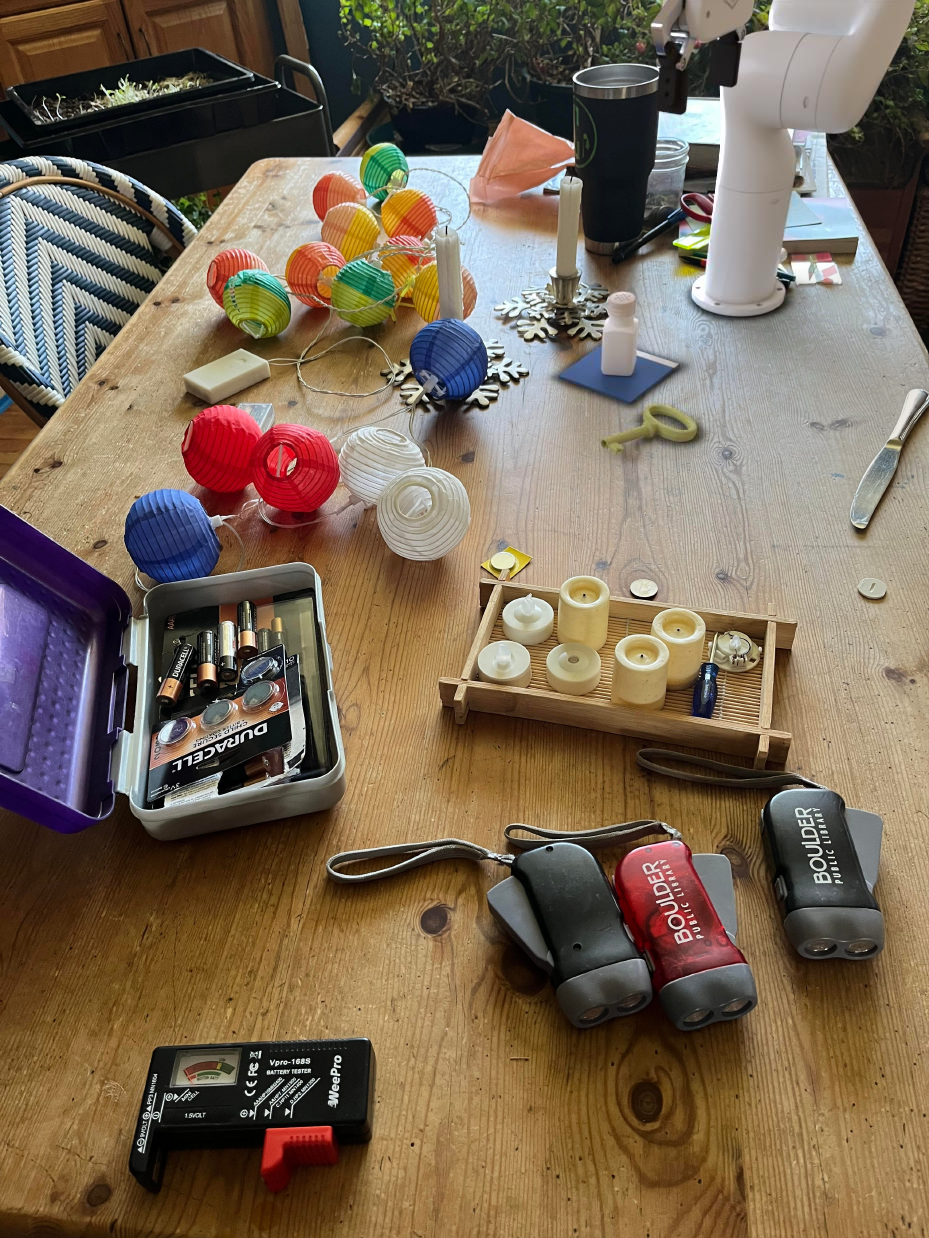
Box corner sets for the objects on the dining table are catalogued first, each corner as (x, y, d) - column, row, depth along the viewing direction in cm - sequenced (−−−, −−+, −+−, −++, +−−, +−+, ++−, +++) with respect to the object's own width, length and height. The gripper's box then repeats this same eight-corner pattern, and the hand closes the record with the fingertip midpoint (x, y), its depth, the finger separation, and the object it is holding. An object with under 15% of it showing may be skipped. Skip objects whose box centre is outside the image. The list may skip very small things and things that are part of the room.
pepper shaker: (605, 360, 112) (608, 289, 105) (636, 362, 111) (641, 290, 104) (600, 376, 109) (603, 304, 103) (632, 378, 108) (637, 306, 102)
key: (596, 456, 98) (596, 440, 97) (654, 407, 104) (656, 391, 103) (650, 478, 95) (652, 462, 93) (708, 426, 101) (710, 410, 99)
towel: (608, 342, 116) (608, 339, 116) (679, 366, 110) (679, 363, 110) (558, 378, 111) (558, 375, 110) (630, 404, 105) (630, 401, 105)
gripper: (702, -97, 72) (682, 129, 84) (803, -131, 80) (771, 80, 92) (627, -99, 76) (618, 118, 88) (731, -131, 84) (709, 72, 96)
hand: (697, 98), depth 90 cm, fingers open, 9 cm apart
